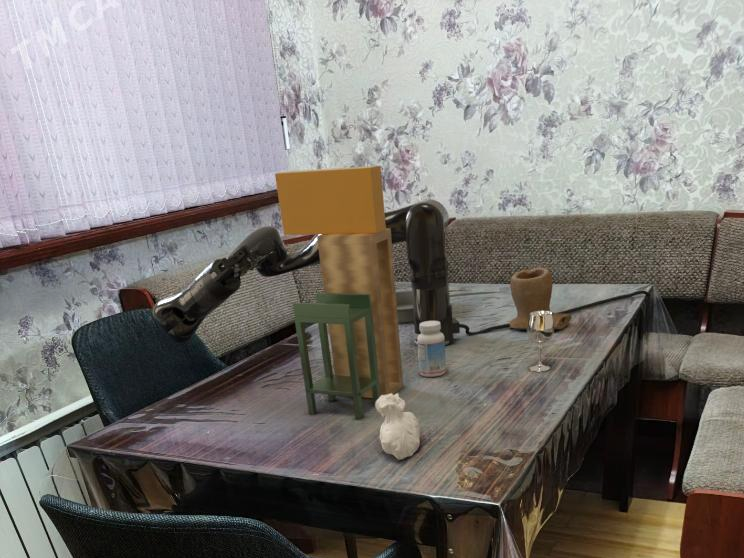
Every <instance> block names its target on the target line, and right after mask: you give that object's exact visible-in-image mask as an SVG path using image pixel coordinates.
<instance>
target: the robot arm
mask: <svg viewBox="0 0 744 558" xmlns="http://www.w3.org/2000/svg"><path fill="white" fill-rule="evenodd" d="M384 213H385V225H386V228H391V240H392V245H395V244H400V243H405V247H406V257H407V263H408V266H409V270H410V283H411V284H410V285H411V290H412V300H413V314H414V322H413V328H414V333H413V338H414V345H415V346H416V347H418V344H417V338H418V336H419V335H420V334H421V332H420V330H419V329H420V328H419V324H420V323H422V322H425V321H439V322H440V324H441V328H440V329H441V330H440V332H441V333H443V335H444V339H445V346H448V345H452V344H454V335H455V334H460V333H461V329H465V331H464V332H465V334H466V335H467V336H475V335H479V334H480V335H481V334H486V333H489V332H492V331H497V330H502V329H507V328H511V327H510V325H509V323H504V324H498V325H493V326H489V327H487V328H484V329H481V330H478V331H470V327H469V326H468V325H467V324H463V323H460V321H459V320H458V319H457V318H456V317H453V305H452V304H451V301H450V300H451V299H450V280H449V279H450V276H449V260H448V258H447V254H446V243H445V242H446V241H445V232H446V231H447V229H448V227H449V223H450V222H449V221H450V214H449V211H448V209H447V208H446V207H445V205H444V204H443V203H441V202H440V201H438V200H436V199H431V198H427V199H423V200H421V201H418V202H416V203H414V204H411V205H408V206H404V207H402V208H398V209H395V210H390V211H386V212H385V211H384ZM319 235H322V234H314V235H313V237H312V238H311V240H310V241H309V242H308V243H307V244H306V245H305V246H303V247H301V248H300V249H298V250H296V251H293V252H288V250H287V248H286V245H285V243H284V240H283V237H282V235H281V233H280V232H279V229H278V228H277V227H275V226H272V225H265V226H261V227H258V228H256V229H255V230H253V231H251V232H250V233H249V234H248V235H247V236H246V237H244V239H243V240H242V241H241V242H240V243H238V245H237V246H236V247H235V248H234V249H233V250H232V251H231V252H230V253H229V254H228V255H227V256H226V257H223V258H217V259H214V260H213V261H212V262H211V263H210V264H209V265H208V266H207V267H206V268H205V269H203V270H202V271H201V272H200V273H199V274H198V275H197V276H196V277H195V278H194V279H193V281H192V282H191V283H190V284H188V286H186V287H185V288H184V289H183V290H182V291H180V292H178V293H176V294H173V295H170V296H167V297H164V298H162V299H160V300H159V301H157V302H156V303H155V304H154V305H153V308H152V316H153V318H154V320H155V321H156V322H157V323H158V325H159V326H160V327H161V329H163V330H164V332H165V333H166V334H167V335H168V337H169V338H170V339H171V340H172V341H173V342H174V343H176V344H183V343H186V342H188V341H190V340H191V339H192V338H193V337H194V335H195V334H196V332H197V331H198V329H199V327H200V326H201V324H202V323H203V322H204V321H205V319H206V318H207V317H208V316H209V315H210V314H211V313H212V312H213V311H215V310H216V309H218V308H219V307H220V306H222V304H225V302H226V301H227V300H228V299H229V298H230V297H231V296H232V295H234V294H235V293H236V292H237V291H239V289H240V288H241V284H242V278H241V277H244V276H245V275H247V274H248V272H249V271H251V272H252V271H254V270H256V272H257V273H258V275H259V276H261V277H263V278H271V277H272V278H273V277H277V276H281V275H284V274H287V273H291V272H295V271H298V270H302V269H304V268H308V267H311V266H316V265H321V264H320V256H319V248H318V241H317V236H319ZM638 295H644V296H646V297H651V293H650V292H649V291H647V290H641V289H640V290H637V291H633V292H631V293H627V294H621V295H618V296H613V297H610V298H606V299H601V300H597V301H594V302H590V303H587V304H584V305H580V306H576V307H573V308H569V309H565V310H561V311H557V313H559V314H571V313H575V312H578V311H581V310H585V309H588V308H593V307H596V306H600V305H604V304H606V303H611V302H614V301H619V300H623V299H628V298H632V297H635V296H638ZM460 328H461V329H460Z"/></svg>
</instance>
